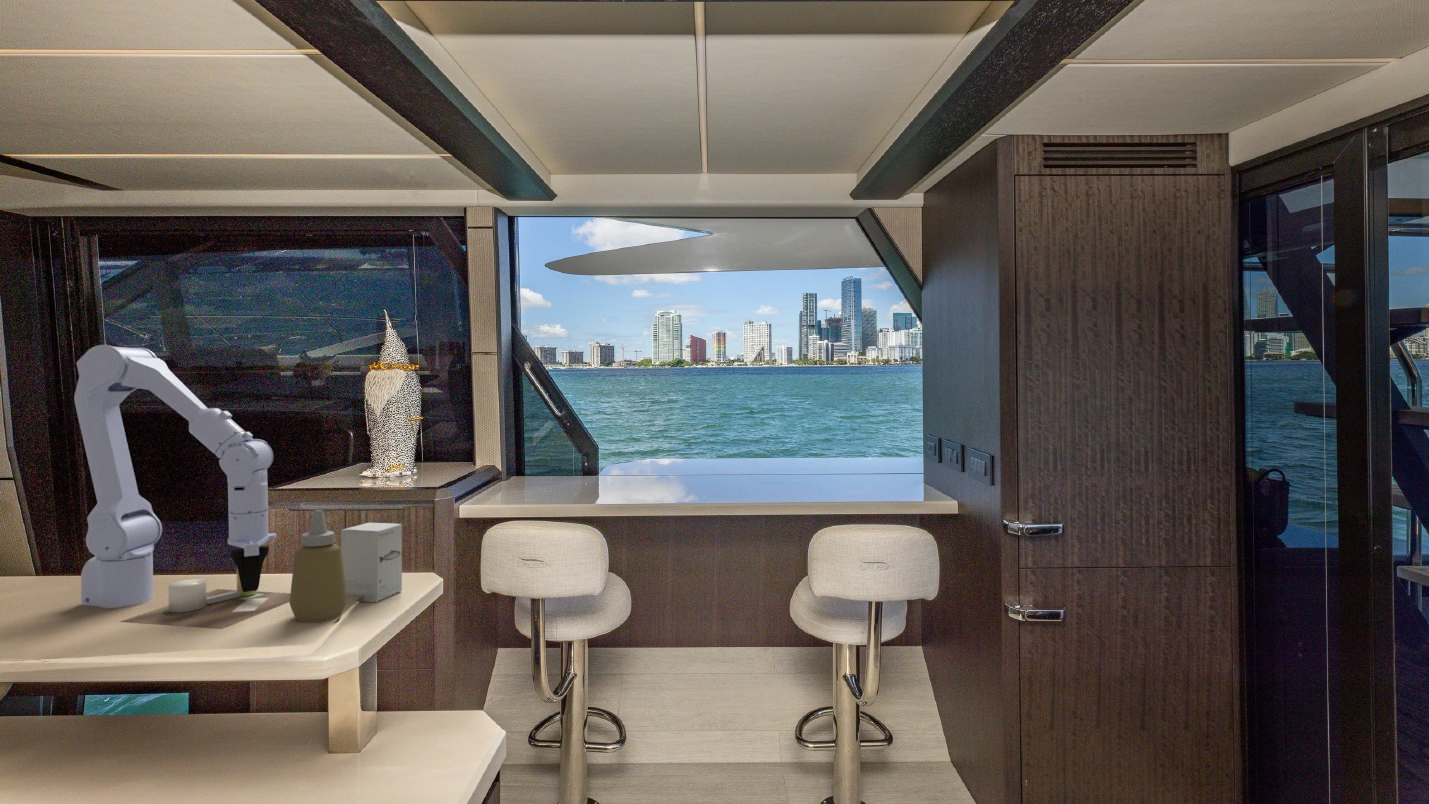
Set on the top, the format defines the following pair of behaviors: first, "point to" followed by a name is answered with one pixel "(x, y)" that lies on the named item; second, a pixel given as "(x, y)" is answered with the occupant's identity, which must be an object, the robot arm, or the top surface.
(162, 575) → the top surface
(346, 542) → the supplement box
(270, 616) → the top surface
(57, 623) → the top surface
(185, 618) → the brown flat square board
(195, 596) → the peg lever
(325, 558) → the squeeze bottle
